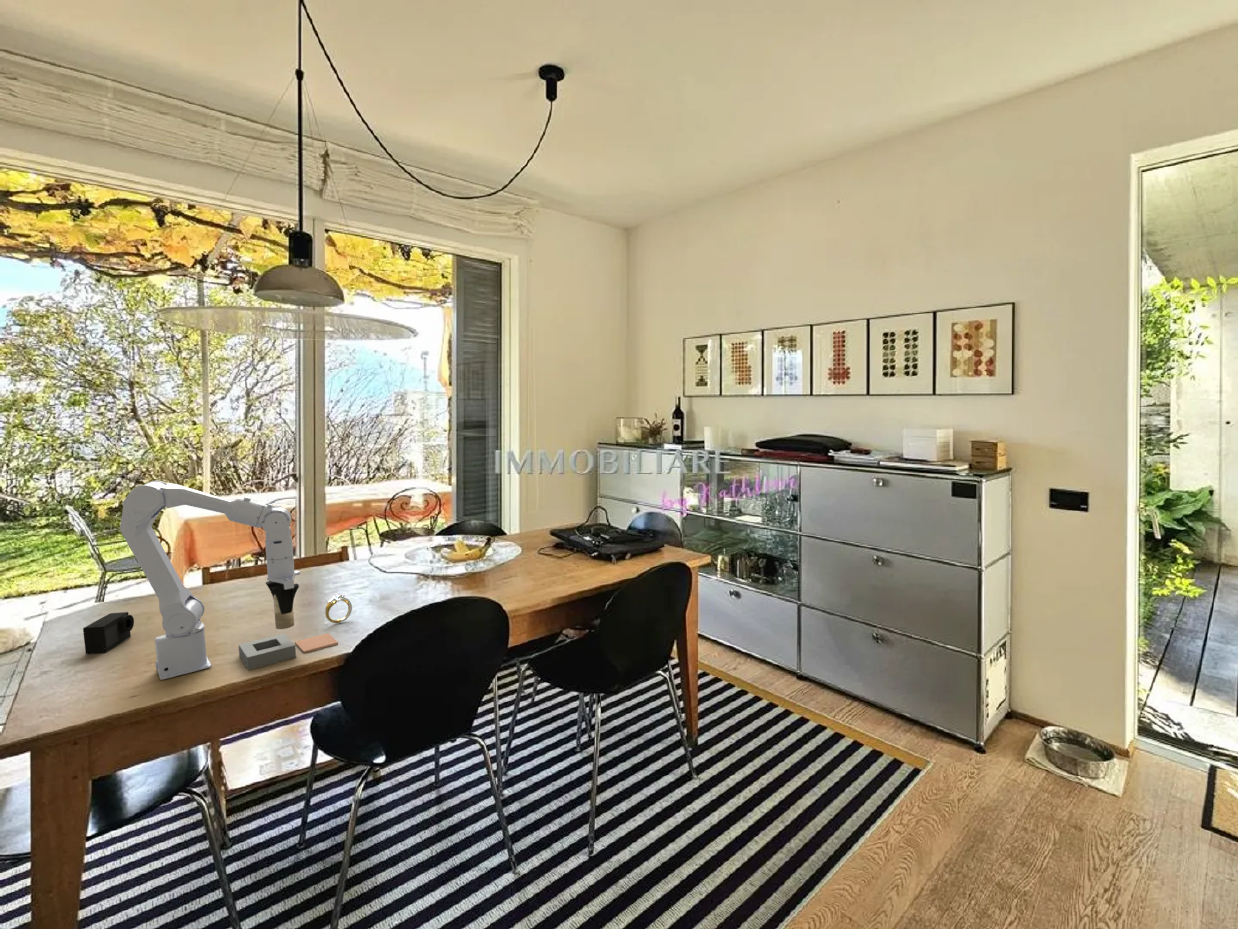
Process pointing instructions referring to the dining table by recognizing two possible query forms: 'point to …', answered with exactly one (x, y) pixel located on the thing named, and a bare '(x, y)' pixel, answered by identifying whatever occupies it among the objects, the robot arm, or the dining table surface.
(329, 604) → the ring
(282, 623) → the peg
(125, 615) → the digital camera
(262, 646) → the pocket block
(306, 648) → the pad
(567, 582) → the dining table surface
